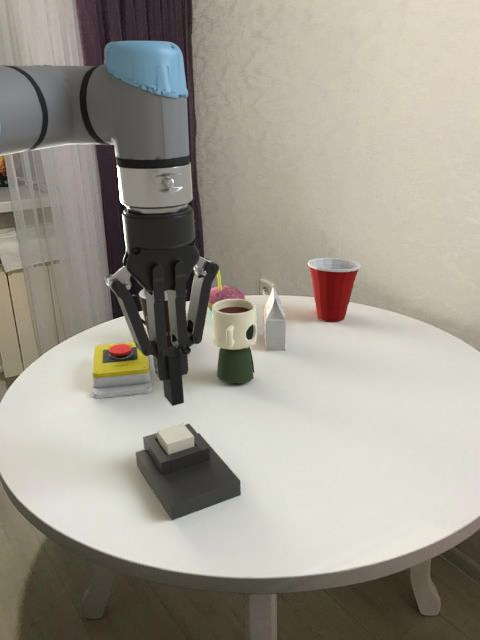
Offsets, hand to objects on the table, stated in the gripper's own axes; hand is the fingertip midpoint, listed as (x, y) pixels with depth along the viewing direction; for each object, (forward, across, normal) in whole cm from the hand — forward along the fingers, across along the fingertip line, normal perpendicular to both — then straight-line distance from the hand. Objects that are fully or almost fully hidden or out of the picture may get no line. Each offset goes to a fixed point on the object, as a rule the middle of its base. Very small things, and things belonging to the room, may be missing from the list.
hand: (174, 399), depth 72 cm
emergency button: (+10, +2, +29) cm, 31 cm away
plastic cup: (+11, +48, +32) cm, 59 cm away
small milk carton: (+11, +31, +27) cm, 42 cm away
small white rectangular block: (+7, 0, 0) cm, 7 cm away
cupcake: (+10, +28, +42) cm, 52 cm away
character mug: (+11, +18, +18) cm, 28 cm away
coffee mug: (+10, +13, +39) cm, 43 cm away
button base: (+10, 0, -3) cm, 11 cm away
